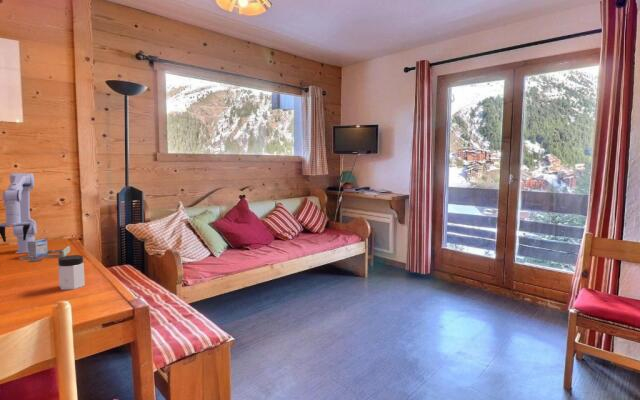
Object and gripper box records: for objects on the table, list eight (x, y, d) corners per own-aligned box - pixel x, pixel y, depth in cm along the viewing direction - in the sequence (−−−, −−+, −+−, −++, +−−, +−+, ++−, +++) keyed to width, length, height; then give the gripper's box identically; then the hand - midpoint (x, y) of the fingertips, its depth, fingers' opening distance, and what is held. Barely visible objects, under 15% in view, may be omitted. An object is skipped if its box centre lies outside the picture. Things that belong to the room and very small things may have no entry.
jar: (54, 290, 140) (52, 260, 139) (64, 284, 148) (62, 255, 147) (80, 289, 142) (79, 259, 141) (88, 282, 150) (87, 254, 149)
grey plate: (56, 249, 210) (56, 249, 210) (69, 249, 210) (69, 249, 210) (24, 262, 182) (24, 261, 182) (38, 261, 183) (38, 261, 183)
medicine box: (36, 258, 190) (35, 241, 190) (28, 257, 190) (27, 241, 190) (48, 254, 198) (47, 238, 197) (39, 254, 198) (39, 238, 198)
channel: (28, 254, 198) (28, 248, 198) (70, 251, 206) (69, 246, 206) (19, 260, 186) (19, 254, 185) (64, 256, 193) (64, 251, 193)
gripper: (-8, 215, 174) (-7, 243, 175) (30, 213, 182) (32, 240, 183) (-5, 214, 180) (-4, 241, 181) (32, 212, 188) (33, 238, 189)
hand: (14, 241), depth 182 cm, fingers open, 7 cm apart
